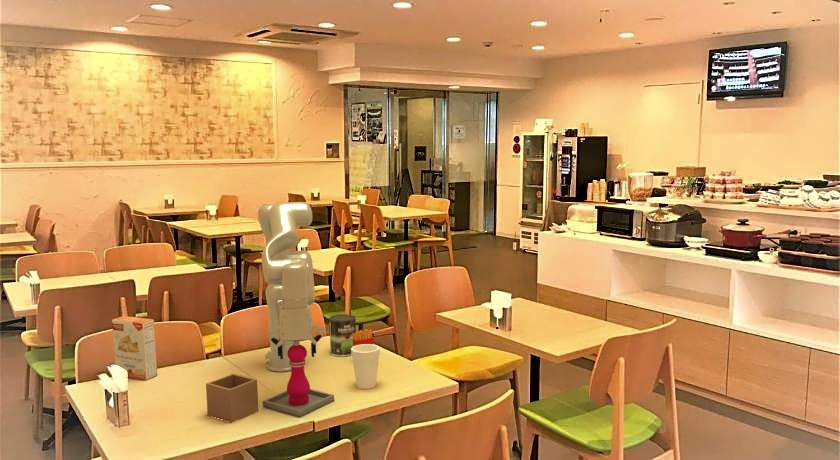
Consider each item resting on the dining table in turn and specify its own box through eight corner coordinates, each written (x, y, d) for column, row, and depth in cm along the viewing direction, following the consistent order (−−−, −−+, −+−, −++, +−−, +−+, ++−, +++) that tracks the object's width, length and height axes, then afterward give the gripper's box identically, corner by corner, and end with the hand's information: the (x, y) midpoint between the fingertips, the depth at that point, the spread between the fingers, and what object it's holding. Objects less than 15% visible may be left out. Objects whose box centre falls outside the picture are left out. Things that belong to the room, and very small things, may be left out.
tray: (263, 407, 212) (262, 400, 211) (298, 391, 224) (297, 385, 224) (300, 417, 203) (299, 411, 203) (334, 400, 216) (334, 394, 216)
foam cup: (375, 391, 224) (374, 353, 222) (348, 389, 225) (347, 351, 224) (383, 381, 233) (382, 344, 231) (357, 380, 235) (356, 343, 233)
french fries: (369, 357, 259) (369, 326, 258) (375, 360, 256) (374, 329, 255) (350, 362, 254) (350, 330, 252) (356, 364, 251) (355, 333, 249)
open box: (207, 415, 206) (205, 383, 204) (234, 404, 214) (233, 373, 213) (231, 423, 200) (229, 390, 199) (258, 411, 209) (257, 379, 207)
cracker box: (114, 376, 241) (110, 319, 239) (127, 371, 247) (124, 315, 244) (145, 381, 236) (141, 322, 234) (158, 375, 242) (154, 318, 239)
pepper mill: (288, 397, 217) (286, 337, 214) (311, 396, 218) (309, 336, 215) (285, 406, 210) (283, 344, 207) (309, 405, 211) (307, 343, 208)
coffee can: (360, 354, 263) (359, 318, 262) (335, 358, 259) (334, 322, 257) (350, 347, 272) (349, 313, 271) (326, 351, 268) (325, 316, 266)
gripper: (266, 307, 204) (268, 362, 206) (324, 304, 208) (326, 358, 210) (266, 302, 212) (269, 355, 214) (322, 298, 215) (324, 351, 217)
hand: (297, 356), depth 212 cm, fingers open, 9 cm apart
